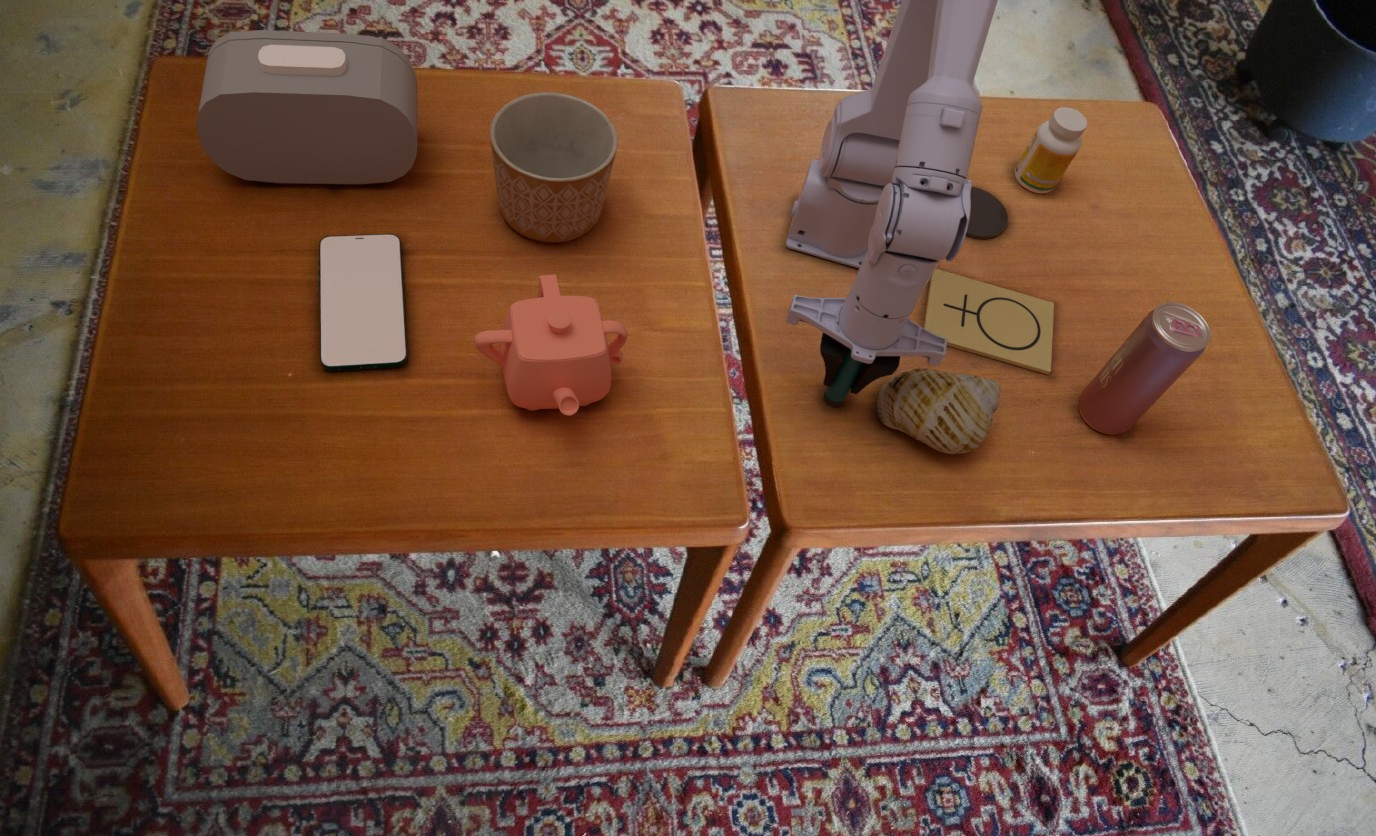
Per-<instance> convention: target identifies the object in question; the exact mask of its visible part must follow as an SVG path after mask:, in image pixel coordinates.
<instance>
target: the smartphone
mask: <svg viewBox="0 0 1376 836" xmlns="http://www.w3.org/2000/svg"><path fill="white" fill-rule="evenodd" d="M318 254H319V255H318V291H319V362H320V366H321V367H322V369H324V370H325V371H327V372H343V371H344V372H347V371H364V370H365V371H366V370H379V369H394V368H395V369H397V368H401V367H403V366H405V364H406V363H408V343H407V342H408V340H407V326H406V325H407V322H406V308H405V292H404V291H405V290H404V289H405V288H404V284H405V282H404V281H405V279H404V269H403V258H402V257H403V256H402V244H401V238H400V237H399V236H398V235H396V234H395V233H374V234H344V235H343V234H342V235H326V236H324V237H322V238H321V239H320V241H319V245H318Z"/></svg>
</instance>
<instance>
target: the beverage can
mask: <svg viewBox="0 0 1376 836" xmlns="http://www.w3.org/2000/svg"><path fill="white" fill-rule="evenodd" d="M1211 333H1212V332H1211V328H1210V326H1209V324H1208V322H1207V321H1206V319H1205V318H1204V317H1203V316H1202V315H1201V314H1200V313H1199V312H1198V311H1197V310H1195V309H1193V308H1192V307H1190V306H1189V305H1186V304H1184V303H1182V302H1181V303H1180V302H1175V301H1168V302H1163V303H1160V304H1159V305H1157V306H1156V307H1155V308H1154V309H1152V310H1151V311H1149V312H1148V313H1147V315H1145V317H1144V318H1143V319H1142V321H1141V322H1140V323H1139V324H1138V325H1137V326H1136V327H1135V329H1134V330H1133V331H1132V332H1131V334H1129V336H1128V337H1127V338H1126V339H1125V340H1124V342H1123V343H1122V344H1121V346H1119V348H1118V349H1117V350H1116V351H1115V352H1114V354H1113V355H1112V356H1111V357H1110V358H1109V359H1108V361H1107V362H1106V363H1105V364H1104V365H1103V366H1102V368H1101V369H1100V370H1099V371H1098V372H1097V374H1096V375H1095V376H1094V377H1093V379H1092V380H1091V381H1090V382H1089V383H1088V385H1086V387H1085V388H1084V389H1083V390H1082V391H1081V393H1080V394H1079V397H1078V410H1079V414H1080V416H1081V417H1082V419H1083V421H1084V422H1085V423H1086V424H1087V425H1088V426H1089V427H1090V428H1092V429H1093V430H1094V431H1097V432H1099V433H1101V434H1104V435H1121V434H1124V433H1126V432H1128V431H1130V429H1131V428H1133V426H1134V425H1135V424H1136V423H1137V422H1138V421H1139V420H1140V419H1141V418H1142V416H1143V415H1145V414H1146V413H1147V411H1149V409H1150V408H1152V407H1153V405H1155V403H1156V402H1158V400H1159V399H1160V398H1161V397H1162V396H1163V395H1164V394H1165V393H1166V392H1167V391H1168V390H1169V389H1170V388H1171V387H1172V386H1173V384H1175V382H1176V381H1177V380H1178V379H1179V378H1181V377H1182V375H1183V374H1184V373H1185V372H1186V371H1187V370H1188V369H1189V368H1190V367H1191V366H1192V365H1193V364H1194V363H1195V362H1196V360H1198V359H1199V358H1200V357H1201V356H1202V355H1203V353H1204V352H1205V350H1206V347H1207V346H1208V345H1209V344H1210V342H1211V338H1212V334H1211Z"/></svg>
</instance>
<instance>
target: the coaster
mask: <svg viewBox="0 0 1376 836" xmlns="http://www.w3.org/2000/svg"><path fill="white" fill-rule="evenodd" d="M970 198H971V211H970V219H969V224H968V228H967V232H966V235H965V237H970V238H973V239H978V240H988V239H992V238H996V237H998V236H1000V235H1001V234H1002V233H1003V232H1004V231H1005V230H1006V228H1007V226H1008V221H1009V215H1008V212H1007V210H1006V207H1005V206H1004V204H1003V203H1002V201H1000V200H999V198H997V196H995V195H993V194H992V193H990V192H988V191H986V190H984V189H982V188H979V187H975V186H972V187H971V194H970Z"/></svg>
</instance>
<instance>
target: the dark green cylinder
mask: <svg viewBox="0 0 1376 836" xmlns="http://www.w3.org/2000/svg"><path fill="white" fill-rule="evenodd" d="M863 364H864V362H860V361H857V360H854V359H853V358H852V357H851V349H850V348H848V347H847V349H846V354H845V359H844V361H843V362H842V363H841V365H840V366H839V368H838V369H837V371H836V374H835V377H834V380H833V383H832V385H831V386H830V387H828V386H826V388H825V390H824V392H823V394H822V399H823V402H824V403H825V404H826V405H827V406H829V407H831V408H840V407H842V406H843V405H844V403H845V402H846V399H847V397H848V396H849V393H850V392H851V387H852V385H853V384H854V382H855V380H856V378H857V376H858V374H859V372H860V370H861V368H862V366H863Z"/></svg>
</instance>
